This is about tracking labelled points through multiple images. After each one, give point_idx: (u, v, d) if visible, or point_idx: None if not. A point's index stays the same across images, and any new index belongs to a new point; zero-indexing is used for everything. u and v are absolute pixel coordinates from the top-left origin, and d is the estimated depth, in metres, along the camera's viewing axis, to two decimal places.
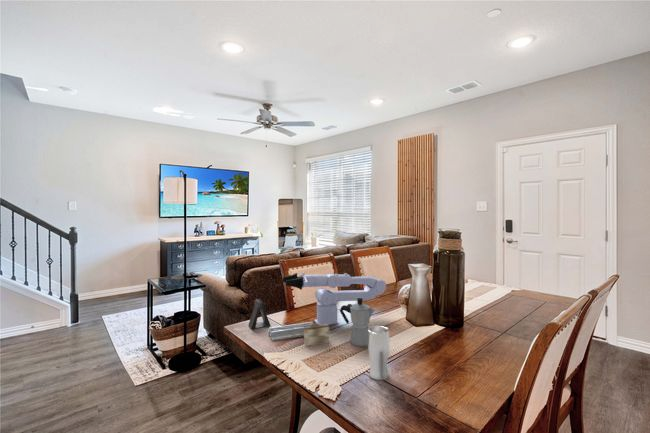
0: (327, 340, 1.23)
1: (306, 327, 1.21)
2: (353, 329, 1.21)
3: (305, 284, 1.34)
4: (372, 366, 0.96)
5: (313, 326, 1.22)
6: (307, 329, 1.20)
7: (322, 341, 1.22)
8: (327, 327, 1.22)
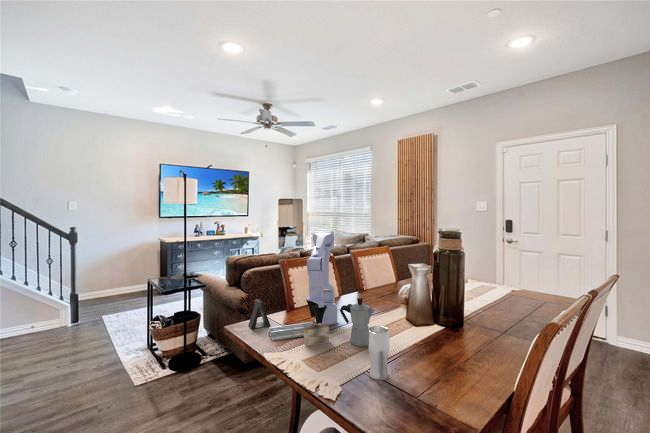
0: (327, 340, 1.23)
1: (306, 327, 1.21)
2: (353, 329, 1.21)
3: (321, 305, 1.15)
4: (372, 366, 0.96)
5: (313, 326, 1.22)
6: (307, 329, 1.20)
7: (322, 341, 1.22)
8: (327, 327, 1.22)
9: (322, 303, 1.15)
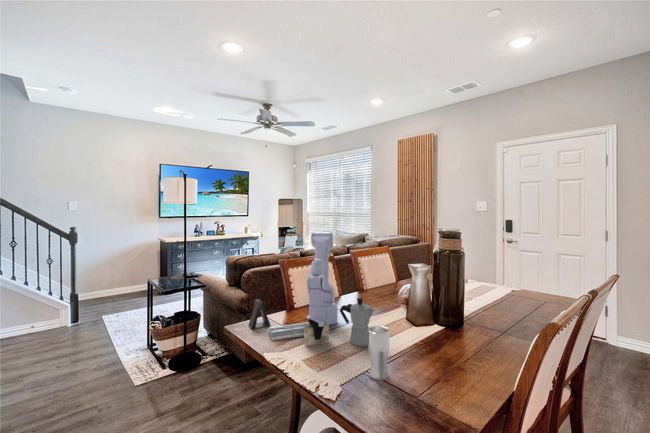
0: (327, 340, 1.23)
1: (306, 327, 1.21)
2: (353, 329, 1.21)
3: (322, 324, 1.15)
4: (372, 366, 0.96)
5: None
6: (307, 329, 1.20)
7: (322, 341, 1.22)
8: (327, 327, 1.22)
9: (322, 322, 1.15)
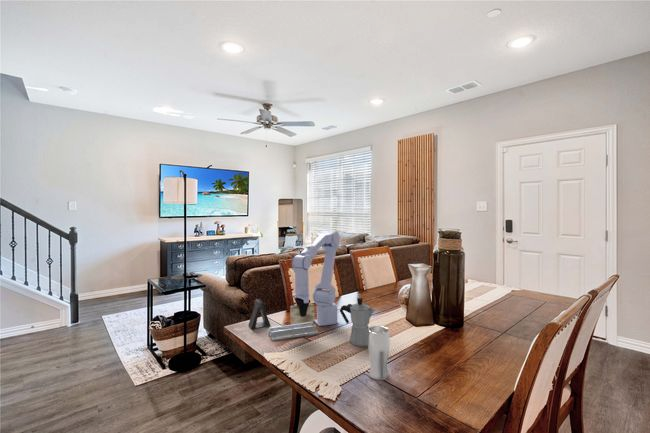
0: (312, 319, 1.28)
1: (292, 306, 1.26)
2: (353, 329, 1.21)
3: (306, 301, 1.21)
4: (372, 366, 0.96)
5: None
6: (293, 308, 1.25)
7: (308, 320, 1.28)
8: (312, 306, 1.28)
9: (307, 299, 1.21)
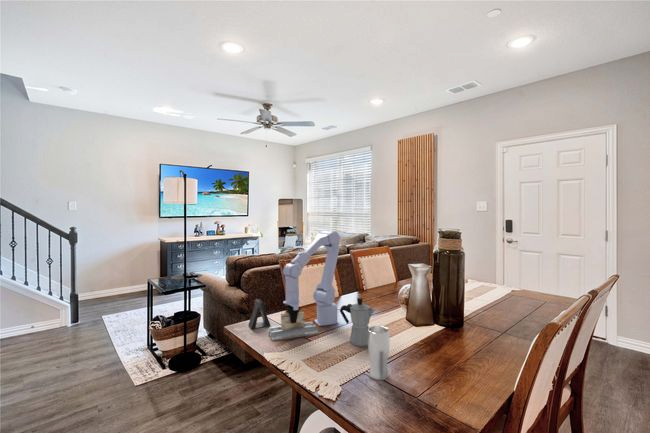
0: (302, 326, 1.33)
1: (283, 314, 1.31)
2: (353, 329, 1.21)
3: (296, 308, 1.25)
4: (372, 366, 0.96)
5: None
6: (283, 316, 1.30)
7: (298, 327, 1.32)
8: (302, 314, 1.32)
9: (297, 306, 1.25)
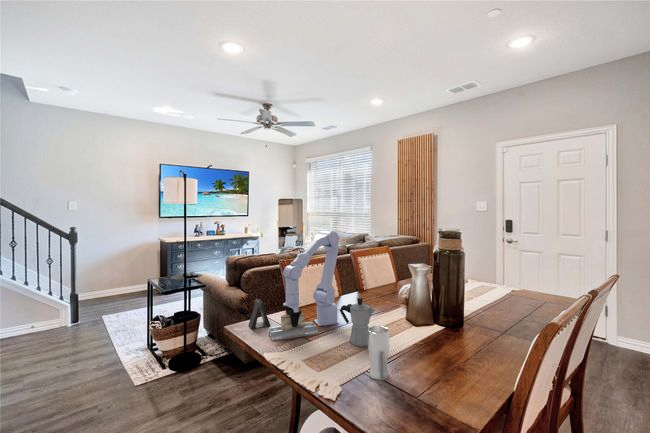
0: None
1: (283, 316, 1.31)
2: (353, 329, 1.21)
3: (296, 310, 1.25)
4: (372, 366, 0.96)
5: (289, 315, 1.32)
6: (284, 318, 1.30)
7: None
8: (302, 316, 1.33)
9: (297, 308, 1.25)
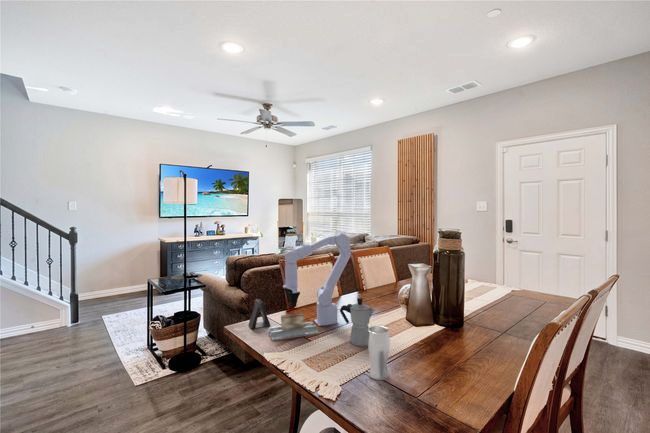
0: None
1: (283, 316, 1.31)
2: (353, 329, 1.21)
3: (295, 291, 1.36)
4: (372, 366, 0.96)
5: (289, 315, 1.32)
6: (284, 318, 1.30)
7: None
8: (302, 316, 1.33)
9: (295, 289, 1.36)
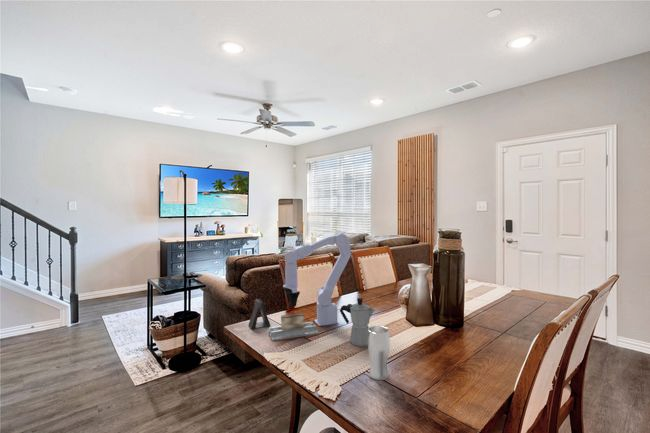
0: None
1: (283, 316, 1.31)
2: (353, 329, 1.21)
3: (295, 291, 1.36)
4: (372, 366, 0.96)
5: (289, 315, 1.32)
6: (284, 318, 1.30)
7: None
8: (302, 316, 1.33)
9: (295, 289, 1.36)
